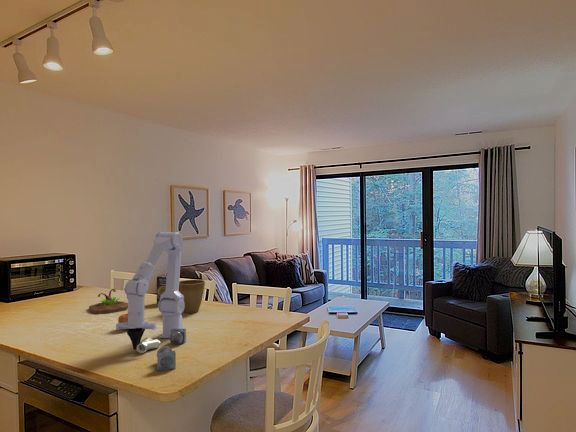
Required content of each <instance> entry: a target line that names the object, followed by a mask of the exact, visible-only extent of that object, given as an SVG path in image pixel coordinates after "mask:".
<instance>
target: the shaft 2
mask: <svg viewBox="0 0 576 432" xmlns="http://www.w3.org/2000/svg"><path fill="white" fill-rule="evenodd" d="M168 339H169V343H170V344H172V345H173V346H178V345H180V344H186V342H187V328H182V329H171V335H170V337H169V338H168Z"/></svg>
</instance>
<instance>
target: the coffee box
mask: <svg viewBox="0 0 576 432" xmlns="http://www.w3.org/2000/svg"><path fill="white" fill-rule="evenodd" d="M166 278H167V275H158V276H156V305H158V304H159V301H160V296H161V295H162V294H163V293H164V292H165V291H166ZM170 299H174V298H170Z"/></svg>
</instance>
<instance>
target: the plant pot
mask: <svg viewBox="0 0 576 432" xmlns="http://www.w3.org/2000/svg"><path fill="white" fill-rule="evenodd" d="M205 286H206V281H205V280H203V279H186V280H181V281H180V280H179V292H180V293H181V294H182V295H183V296H184V304H185V307H184V310H183V313H186V314H194V313H197V312H199V310H200V307H201V305H202V301H203V297H204V291H205Z"/></svg>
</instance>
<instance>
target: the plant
mask: <svg viewBox="0 0 576 432" xmlns="http://www.w3.org/2000/svg"><path fill="white" fill-rule="evenodd" d="M112 292H114V293H116V292H117V289H115V288H112V289H110V291H109V292H108V295H107V294H106V293H104V292H101V293H99V294H98V295H97V297H98V298H100V297H101V295H103V296H104V298H101V300H100V302H99V303H95V304H91V305H89V306H88V311H90V312H91V314H95V315H103V314H113V313H119V312H125V311H128V302H125V301H121V300H120V298H117V297H116V296H113V297H112V296H111V295H112ZM119 300H120V301H119Z"/></svg>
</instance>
